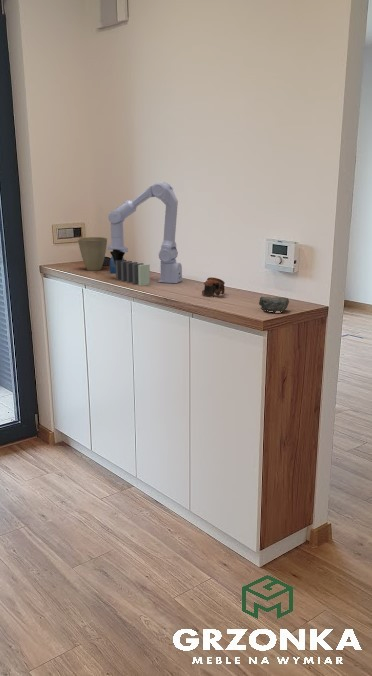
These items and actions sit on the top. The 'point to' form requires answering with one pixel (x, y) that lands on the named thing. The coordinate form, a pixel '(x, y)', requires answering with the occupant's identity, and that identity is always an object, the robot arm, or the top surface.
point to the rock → (274, 303)
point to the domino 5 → (144, 274)
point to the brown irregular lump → (213, 287)
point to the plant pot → (93, 251)
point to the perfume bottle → (113, 266)
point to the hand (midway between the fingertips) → (118, 266)
